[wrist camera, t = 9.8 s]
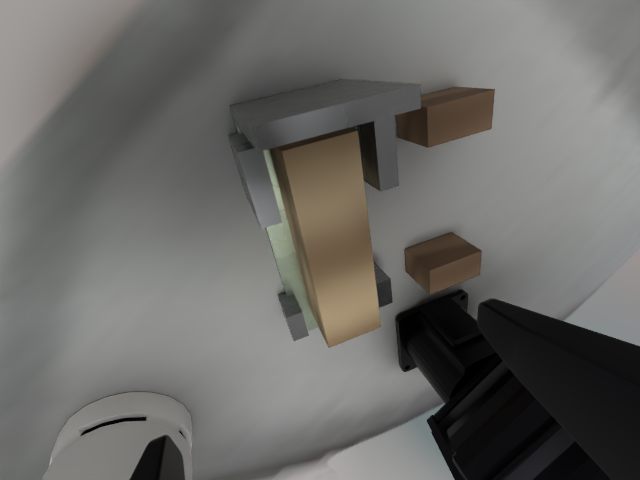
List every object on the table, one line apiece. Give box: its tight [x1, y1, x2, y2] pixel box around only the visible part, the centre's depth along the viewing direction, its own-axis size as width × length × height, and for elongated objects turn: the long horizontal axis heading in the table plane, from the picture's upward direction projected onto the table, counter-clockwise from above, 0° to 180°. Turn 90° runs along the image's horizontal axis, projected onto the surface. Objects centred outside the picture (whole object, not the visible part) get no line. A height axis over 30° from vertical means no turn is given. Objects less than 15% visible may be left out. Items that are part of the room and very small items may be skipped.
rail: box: [269, 128, 381, 348], centre depth 19 cm, size 12×4×4 cm, turn 10°
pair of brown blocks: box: [397, 87, 495, 294], centre depth 21 cm, size 12×4×3 cm, turn 10°
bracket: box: [228, 79, 421, 341], centre depth 18 cm, size 15×7×7 cm, turn 10°
